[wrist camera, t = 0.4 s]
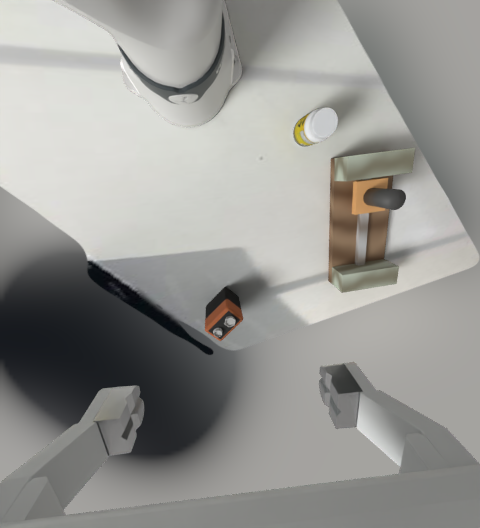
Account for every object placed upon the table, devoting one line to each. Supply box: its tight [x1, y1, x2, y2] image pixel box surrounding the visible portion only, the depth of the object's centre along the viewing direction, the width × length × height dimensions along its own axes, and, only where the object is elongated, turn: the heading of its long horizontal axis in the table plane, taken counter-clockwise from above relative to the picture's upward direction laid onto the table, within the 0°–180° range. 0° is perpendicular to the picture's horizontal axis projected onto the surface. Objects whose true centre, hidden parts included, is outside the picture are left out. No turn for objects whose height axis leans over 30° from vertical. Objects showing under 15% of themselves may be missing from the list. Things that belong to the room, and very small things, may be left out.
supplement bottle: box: [293, 107, 338, 146], centre depth 39 cm, size 5×5×8 cm
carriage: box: [352, 178, 406, 215], centre depth 42 cm, size 6×6×9 cm
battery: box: [205, 287, 243, 341], centre depth 48 cm, size 4×7×10 cm, turn 137°
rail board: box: [329, 148, 415, 293], centre depth 47 cm, size 26×12×6 cm, turn 7°
